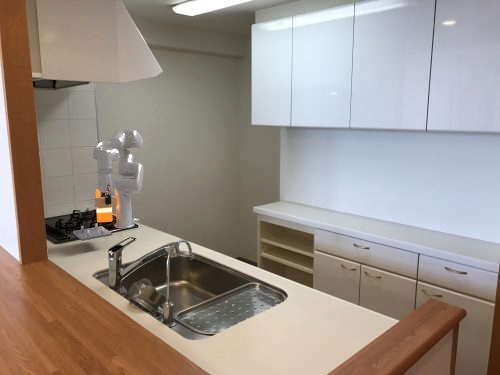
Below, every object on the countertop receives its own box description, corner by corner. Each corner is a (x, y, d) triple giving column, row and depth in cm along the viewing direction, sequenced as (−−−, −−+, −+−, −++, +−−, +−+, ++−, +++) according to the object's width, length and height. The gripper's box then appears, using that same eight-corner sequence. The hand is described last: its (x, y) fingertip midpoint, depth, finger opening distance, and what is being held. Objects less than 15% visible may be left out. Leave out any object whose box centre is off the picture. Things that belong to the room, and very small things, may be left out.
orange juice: (97, 219, 260) (96, 188, 257) (112, 218, 263) (110, 187, 259) (97, 222, 253) (95, 190, 249) (112, 221, 256) (110, 190, 252)
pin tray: (101, 228, 237) (101, 221, 236) (112, 235, 225) (112, 227, 224) (73, 233, 227) (72, 225, 226) (82, 240, 215) (81, 233, 214)
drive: (112, 204, 236) (112, 195, 235) (117, 206, 232) (116, 197, 231) (95, 206, 230) (94, 197, 229) (99, 208, 225) (98, 199, 224)
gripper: (92, 170, 231) (93, 201, 234) (103, 173, 218) (105, 207, 221) (105, 169, 236) (106, 199, 239) (117, 172, 223) (118, 205, 226)
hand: (106, 202), depth 230 cm, fingers closed on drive, 6 cm apart
